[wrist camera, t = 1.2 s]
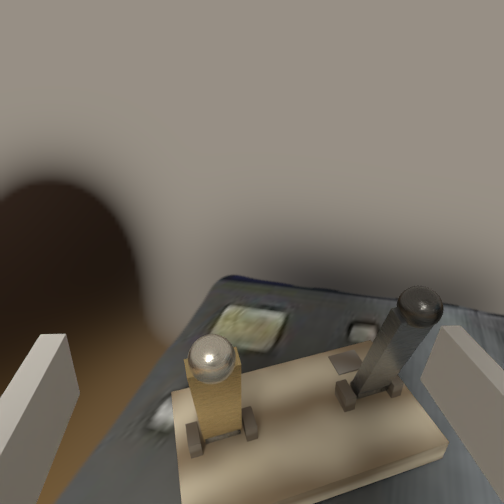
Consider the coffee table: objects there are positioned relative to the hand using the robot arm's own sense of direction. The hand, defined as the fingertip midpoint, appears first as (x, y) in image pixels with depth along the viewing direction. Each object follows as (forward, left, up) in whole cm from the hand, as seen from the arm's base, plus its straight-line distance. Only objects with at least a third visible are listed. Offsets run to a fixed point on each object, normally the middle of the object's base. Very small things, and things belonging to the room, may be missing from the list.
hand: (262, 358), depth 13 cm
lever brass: (+9, -1, -18) cm, 21 cm away
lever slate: (+5, -15, -18) cm, 24 cm away
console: (+7, -8, -22) cm, 25 cm away
